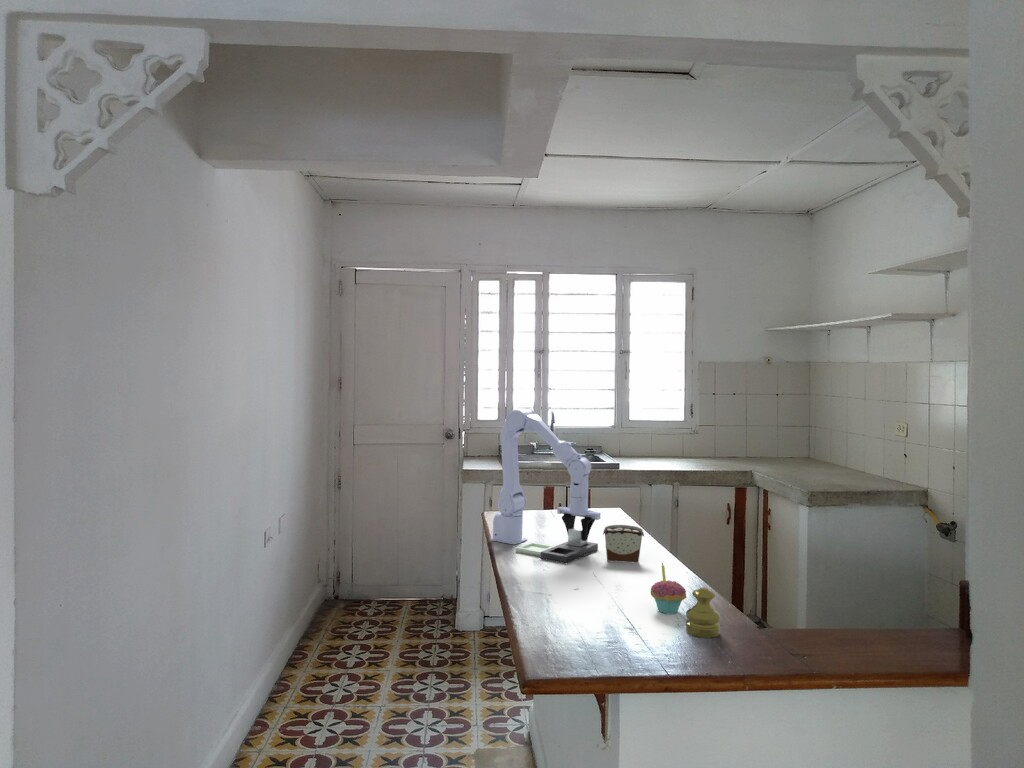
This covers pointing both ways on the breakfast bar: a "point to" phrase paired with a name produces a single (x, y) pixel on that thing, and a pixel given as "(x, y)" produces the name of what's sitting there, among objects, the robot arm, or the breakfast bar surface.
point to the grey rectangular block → (576, 537)
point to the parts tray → (533, 548)
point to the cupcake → (668, 594)
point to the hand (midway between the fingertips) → (577, 539)
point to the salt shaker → (703, 615)
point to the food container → (623, 543)
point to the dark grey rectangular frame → (568, 552)
